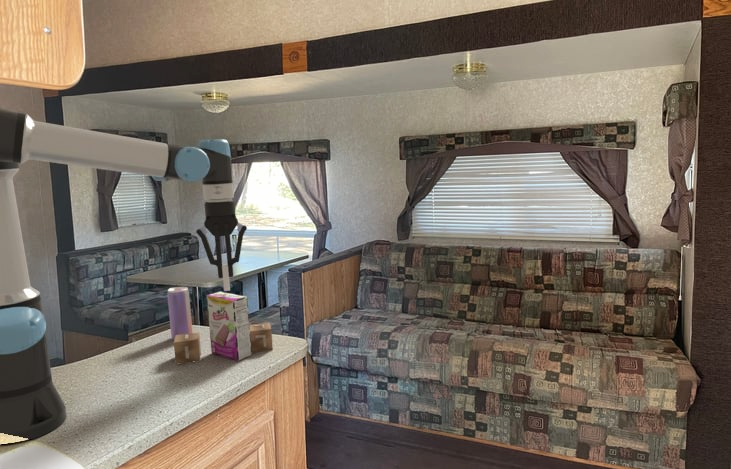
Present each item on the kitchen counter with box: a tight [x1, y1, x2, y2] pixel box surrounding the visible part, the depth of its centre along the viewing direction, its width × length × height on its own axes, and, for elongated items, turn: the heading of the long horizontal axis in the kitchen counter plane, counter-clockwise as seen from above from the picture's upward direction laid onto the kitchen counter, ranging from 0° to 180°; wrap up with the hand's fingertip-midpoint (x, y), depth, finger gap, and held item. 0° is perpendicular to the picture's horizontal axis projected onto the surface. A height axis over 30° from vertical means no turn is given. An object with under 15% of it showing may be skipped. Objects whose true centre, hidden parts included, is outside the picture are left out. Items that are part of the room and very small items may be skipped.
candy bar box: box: [206, 291, 253, 362], centre depth 145 cm, size 11×5×16 cm, turn 54°
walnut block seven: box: [249, 322, 274, 353], centre depth 150 cm, size 6×6×6 cm
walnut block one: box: [173, 332, 202, 365], centre depth 144 cm, size 6×6×6 cm
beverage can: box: [166, 286, 193, 341], centre depth 160 cm, size 6×6×15 cm
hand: (227, 289), depth 143 cm, fingers closed
